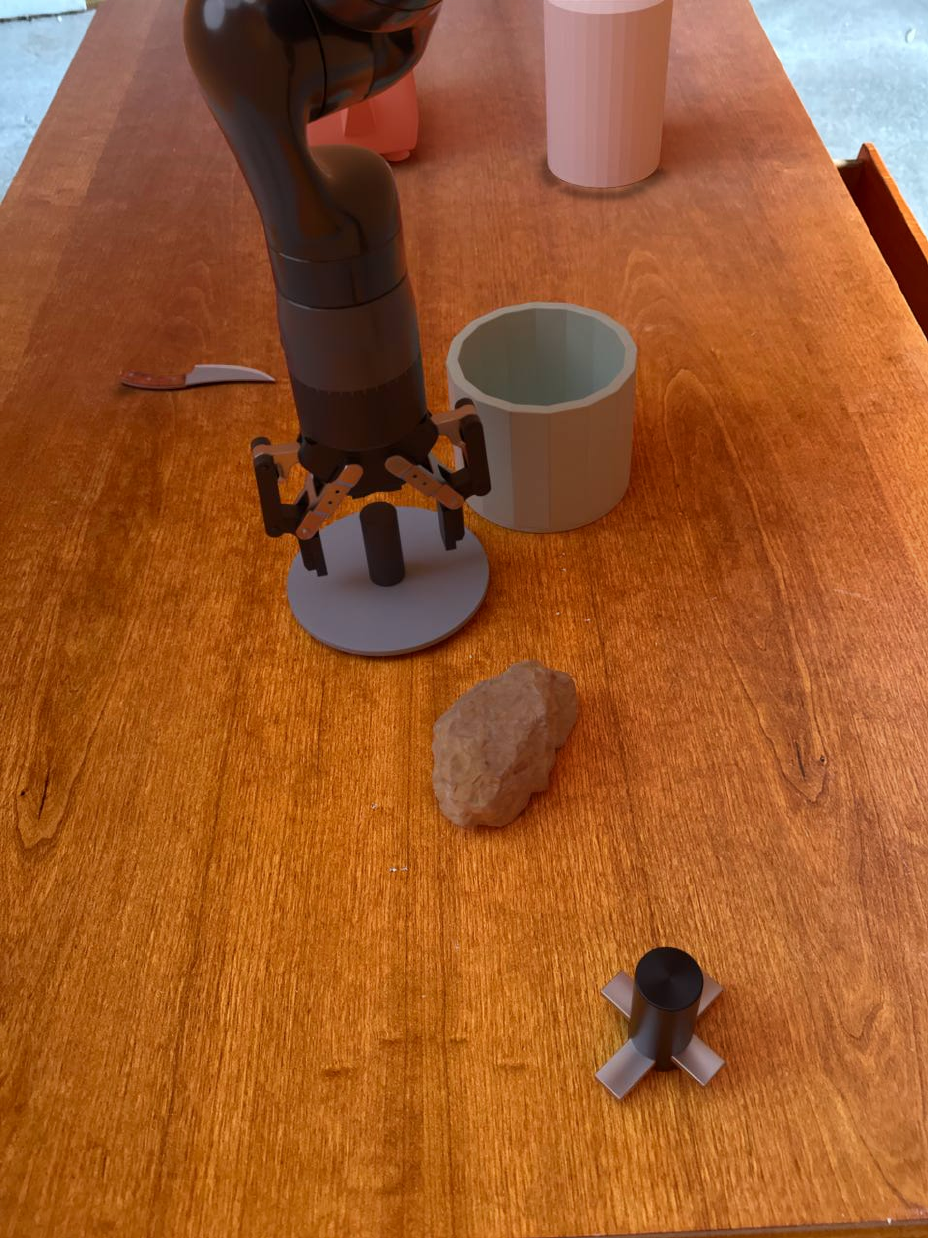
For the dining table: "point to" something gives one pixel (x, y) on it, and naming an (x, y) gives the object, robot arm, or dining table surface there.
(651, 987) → the blade unit
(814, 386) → the dining table surface
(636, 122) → the bottle
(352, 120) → the teapot
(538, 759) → the stone tool
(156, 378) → the knife
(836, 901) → the dining table surface
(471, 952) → the dining table surface
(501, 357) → the processor bowl
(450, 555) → the lid
